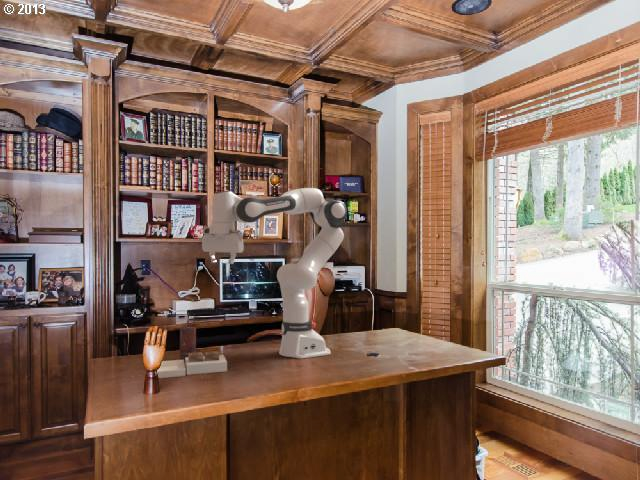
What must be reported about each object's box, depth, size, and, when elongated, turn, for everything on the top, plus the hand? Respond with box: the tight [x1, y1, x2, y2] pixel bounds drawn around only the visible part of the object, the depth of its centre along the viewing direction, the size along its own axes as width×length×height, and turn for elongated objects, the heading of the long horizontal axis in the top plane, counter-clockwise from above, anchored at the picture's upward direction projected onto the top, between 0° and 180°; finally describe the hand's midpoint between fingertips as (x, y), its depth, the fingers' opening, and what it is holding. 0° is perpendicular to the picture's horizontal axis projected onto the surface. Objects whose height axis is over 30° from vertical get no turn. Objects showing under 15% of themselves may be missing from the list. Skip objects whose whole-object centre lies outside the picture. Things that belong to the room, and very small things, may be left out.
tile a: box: [204, 350, 220, 361], centre depth 170 cm, size 5×4×2 cm
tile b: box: [188, 351, 204, 362], centre depth 168 cm, size 5×4×2 cm
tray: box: [157, 359, 186, 379], centre depth 165 cm, size 10×14×2 cm
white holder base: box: [184, 354, 228, 376], centre depth 169 cm, size 14×11×4 cm
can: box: [179, 325, 197, 364], centre depth 179 cm, size 6×6×14 cm
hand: (222, 263), depth 184 cm, fingers open, 8 cm apart
